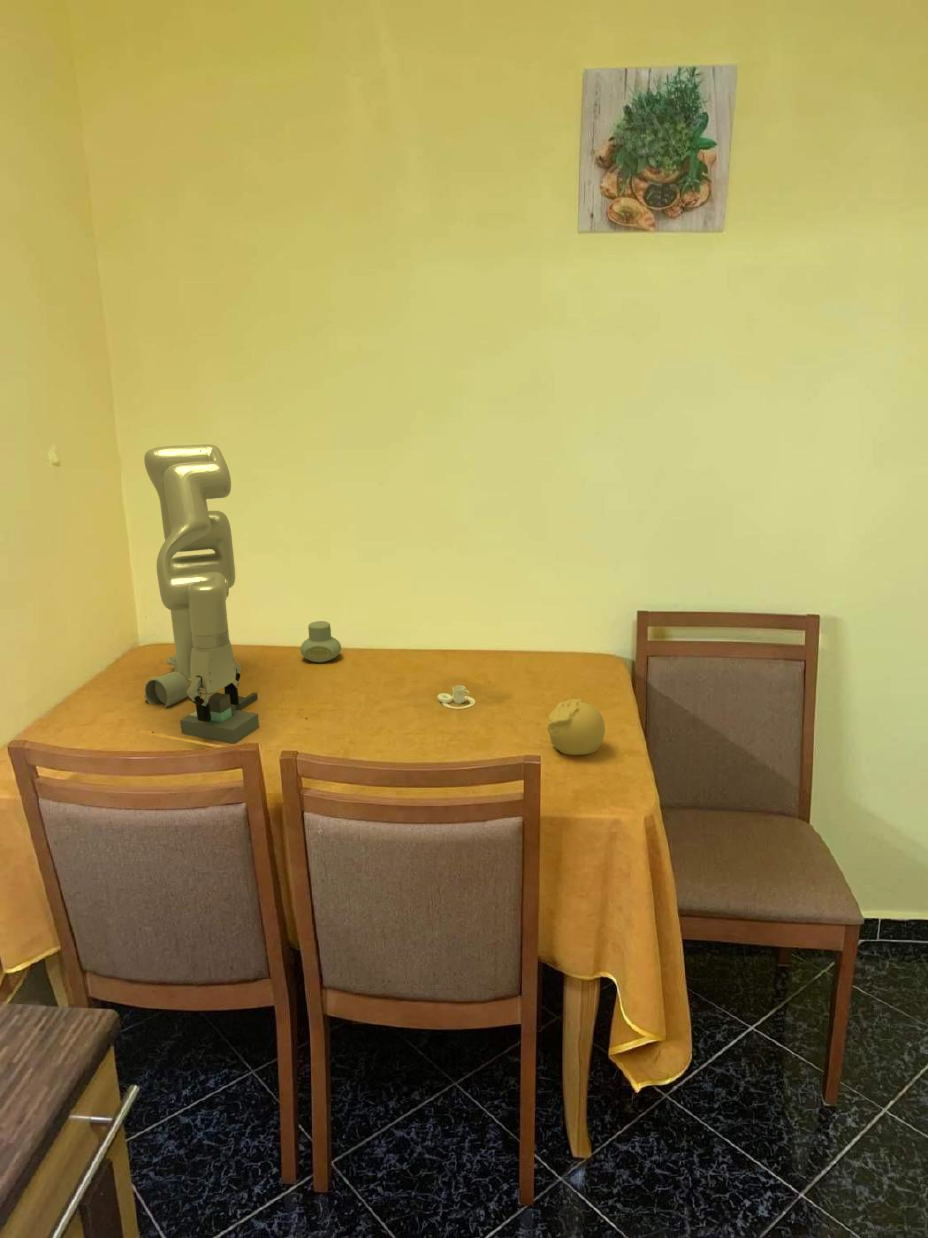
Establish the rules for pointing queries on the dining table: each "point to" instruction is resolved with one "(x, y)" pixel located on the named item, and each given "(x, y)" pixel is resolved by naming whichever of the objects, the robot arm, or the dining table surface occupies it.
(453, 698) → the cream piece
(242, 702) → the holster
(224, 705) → the plug
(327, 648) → the air freshener
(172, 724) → the dining table surface
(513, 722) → the dining table surface
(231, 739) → the port panel
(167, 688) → the ceramic mug
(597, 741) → the sculpture
